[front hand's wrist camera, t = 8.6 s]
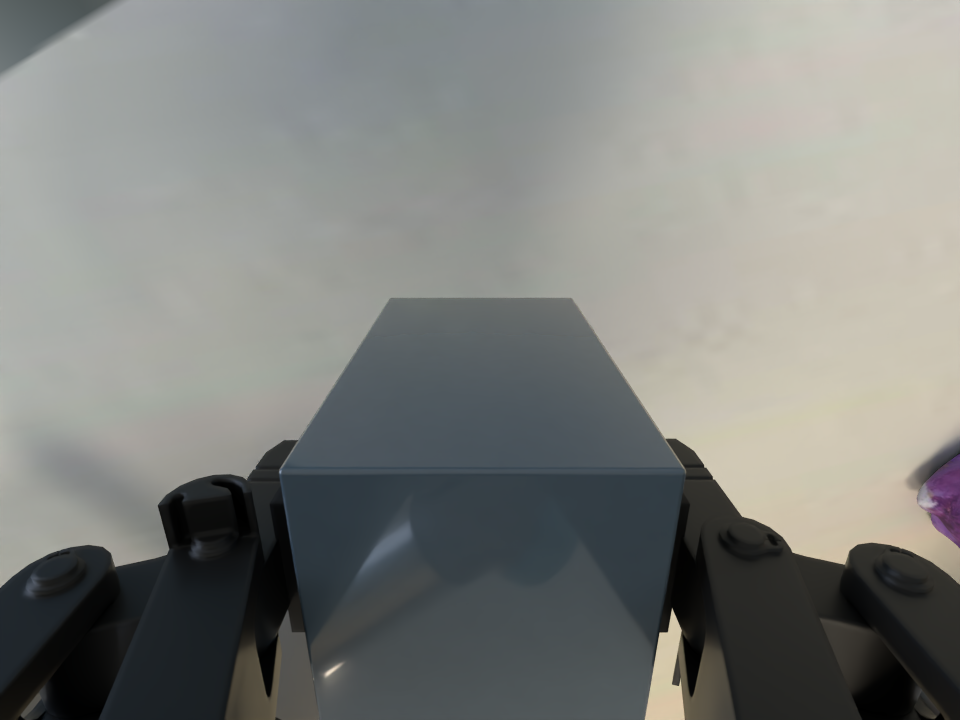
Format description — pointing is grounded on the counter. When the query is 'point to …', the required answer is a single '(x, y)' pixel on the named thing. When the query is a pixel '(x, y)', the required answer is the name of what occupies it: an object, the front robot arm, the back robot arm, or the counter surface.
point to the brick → (482, 520)
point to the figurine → (944, 499)
